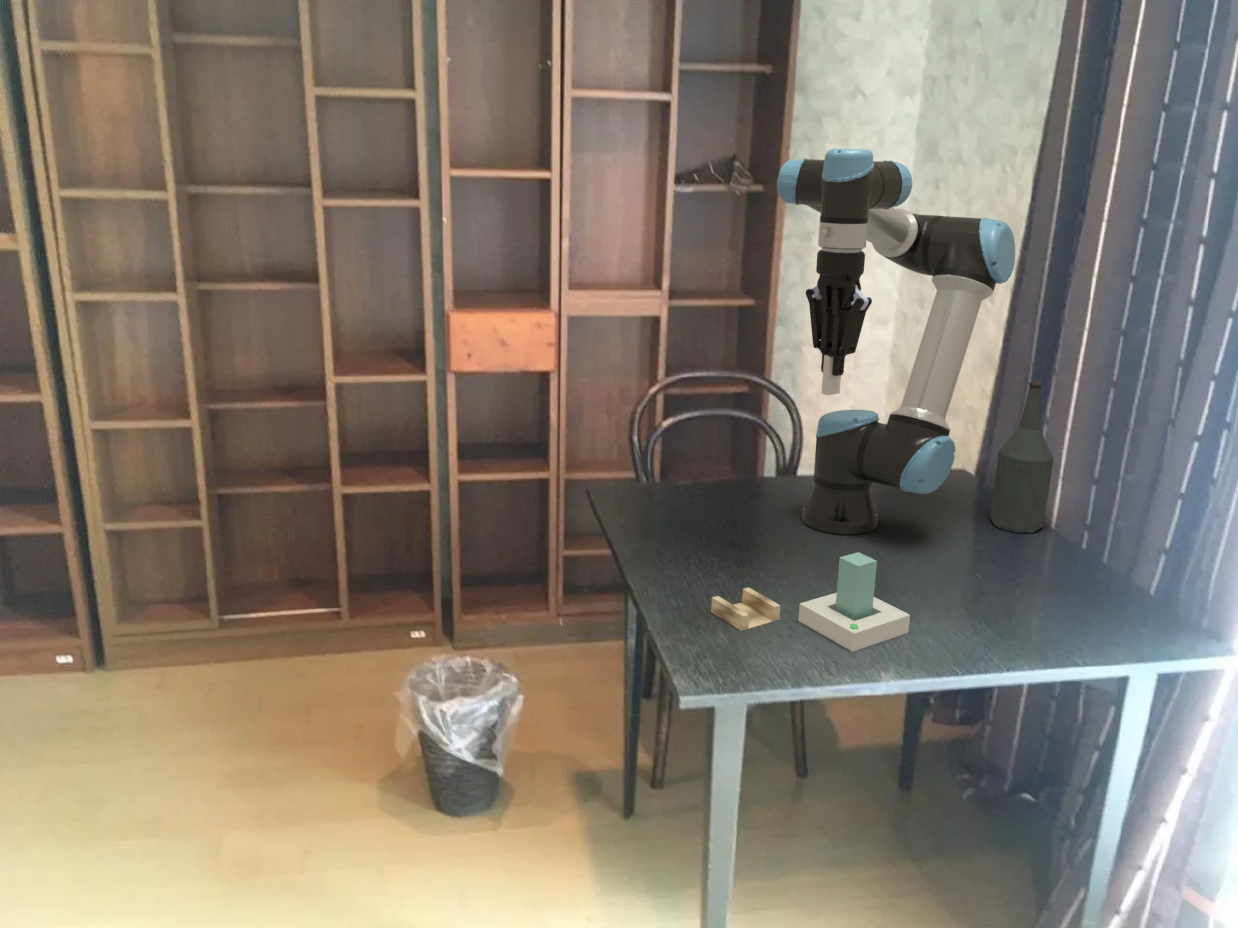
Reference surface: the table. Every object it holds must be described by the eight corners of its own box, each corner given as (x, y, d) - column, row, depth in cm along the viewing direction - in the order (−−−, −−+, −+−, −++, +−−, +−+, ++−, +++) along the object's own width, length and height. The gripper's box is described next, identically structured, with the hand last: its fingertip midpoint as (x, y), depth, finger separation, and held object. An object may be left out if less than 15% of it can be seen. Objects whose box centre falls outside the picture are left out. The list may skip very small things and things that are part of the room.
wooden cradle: (709, 619, 166) (710, 597, 165) (748, 608, 171) (749, 587, 169) (740, 639, 160) (742, 616, 159) (779, 627, 164) (781, 605, 163)
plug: (833, 627, 162) (839, 557, 158) (852, 621, 164) (858, 552, 160) (851, 637, 159) (858, 566, 155) (870, 631, 161) (877, 560, 157)
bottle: (1047, 536, 204) (1069, 389, 194) (995, 532, 205) (1015, 386, 196) (1035, 517, 213) (1055, 377, 204) (986, 514, 215) (1004, 375, 206)
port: (797, 629, 164) (799, 601, 162) (852, 611, 170) (854, 585, 168) (851, 660, 154) (854, 631, 152) (907, 640, 160) (910, 613, 159)
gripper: (796, 247, 166) (787, 388, 174) (853, 255, 156) (841, 404, 163) (830, 245, 170) (820, 383, 178) (888, 252, 160) (875, 399, 167)
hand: (830, 393), depth 170 cm, fingers closed
